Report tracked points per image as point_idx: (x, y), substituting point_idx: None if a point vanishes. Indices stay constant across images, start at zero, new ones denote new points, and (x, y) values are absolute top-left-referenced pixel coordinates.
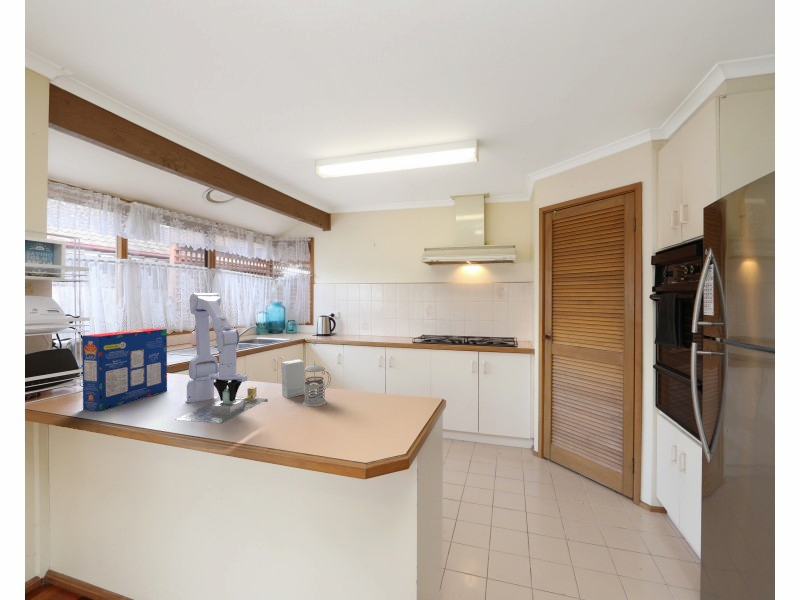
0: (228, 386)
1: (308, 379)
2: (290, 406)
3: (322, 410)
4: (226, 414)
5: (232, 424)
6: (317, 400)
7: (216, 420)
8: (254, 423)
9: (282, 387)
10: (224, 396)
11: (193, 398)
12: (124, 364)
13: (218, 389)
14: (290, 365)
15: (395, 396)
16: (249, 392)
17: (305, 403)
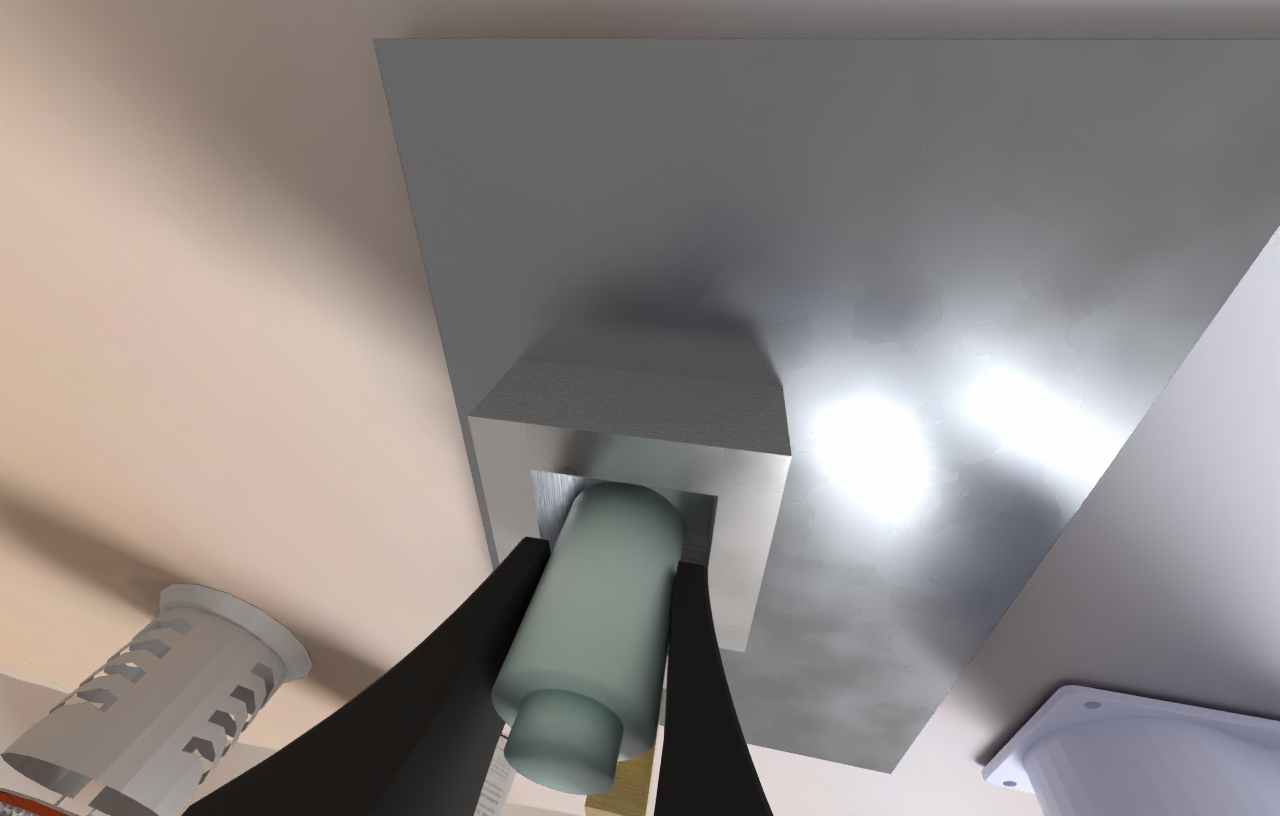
0: (354, 802)
1: None
2: (301, 589)
3: (63, 524)
4: (565, 366)
5: (343, 150)
6: (145, 627)
7: (539, 149)
8: (172, 225)
9: (492, 809)
10: (591, 598)
11: (1275, 772)
12: None
13: (703, 764)
14: None
15: (12, 668)
16: (631, 767)
17: (232, 614)
